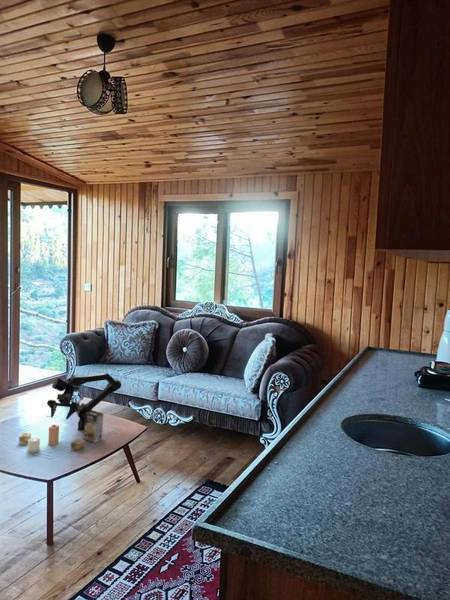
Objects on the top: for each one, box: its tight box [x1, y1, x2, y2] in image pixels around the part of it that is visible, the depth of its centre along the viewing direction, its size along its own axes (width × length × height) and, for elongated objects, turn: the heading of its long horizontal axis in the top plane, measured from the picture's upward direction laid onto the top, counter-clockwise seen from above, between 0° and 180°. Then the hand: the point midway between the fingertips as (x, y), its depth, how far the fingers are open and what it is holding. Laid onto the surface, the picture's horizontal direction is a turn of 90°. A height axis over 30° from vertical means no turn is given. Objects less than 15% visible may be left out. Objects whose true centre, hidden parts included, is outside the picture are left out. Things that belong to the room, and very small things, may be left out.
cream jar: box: [27, 437, 41, 454], centre depth 245 cm, size 6×6×6 cm
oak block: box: [18, 432, 32, 445], centre depth 255 cm, size 5×5×4 cm
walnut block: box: [70, 439, 85, 453], centre depth 250 cm, size 5×5×4 cm
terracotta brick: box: [48, 424, 60, 446], centre depth 255 cm, size 4×4×11 cm
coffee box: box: [83, 409, 104, 443], centre depth 264 cm, size 9×6×16 cm
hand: (59, 418), depth 261 cm, fingers open, 9 cm apart
